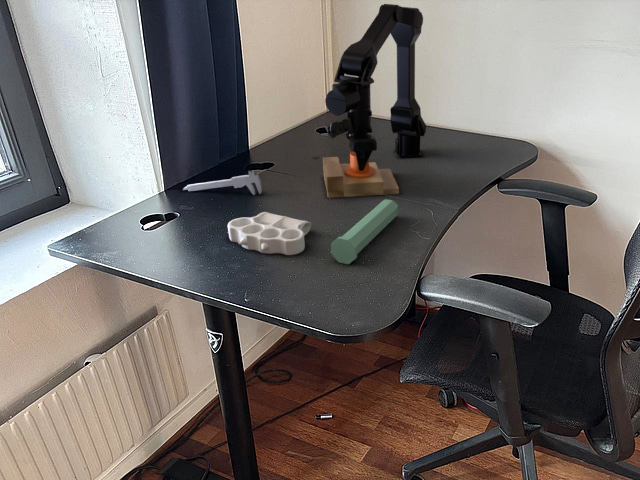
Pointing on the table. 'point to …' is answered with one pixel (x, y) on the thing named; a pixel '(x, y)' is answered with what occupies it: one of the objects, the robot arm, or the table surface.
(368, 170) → the hat
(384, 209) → the mint green bar
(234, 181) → the caliper
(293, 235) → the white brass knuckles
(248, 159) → the table surface
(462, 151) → the table surface
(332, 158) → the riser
